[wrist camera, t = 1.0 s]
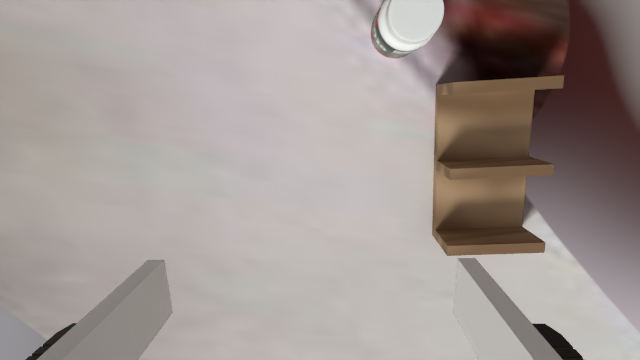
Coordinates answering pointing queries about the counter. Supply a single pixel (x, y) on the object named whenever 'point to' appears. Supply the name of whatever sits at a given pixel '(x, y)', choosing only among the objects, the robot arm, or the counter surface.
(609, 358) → the counter surface
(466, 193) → the rack
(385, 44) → the pill bottle
